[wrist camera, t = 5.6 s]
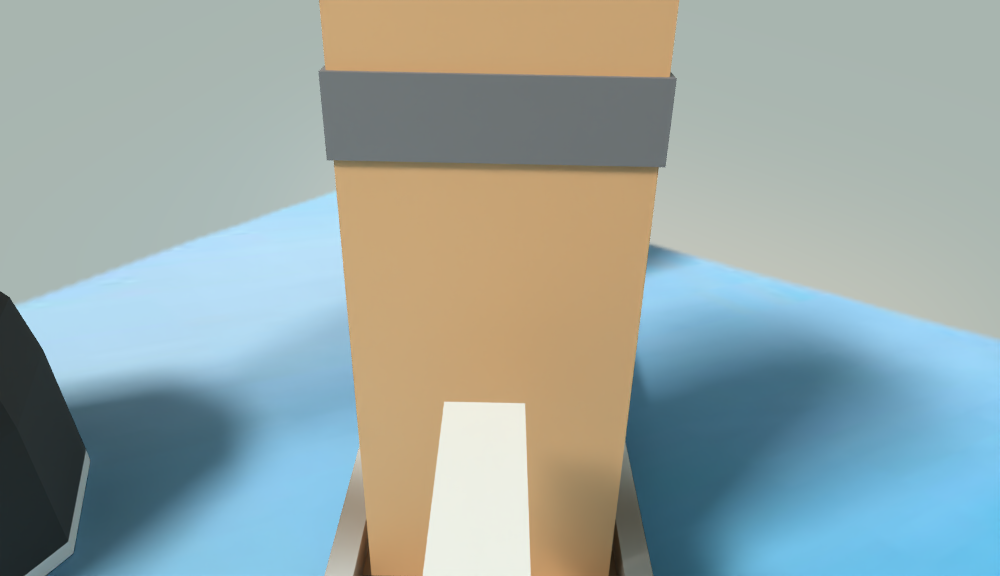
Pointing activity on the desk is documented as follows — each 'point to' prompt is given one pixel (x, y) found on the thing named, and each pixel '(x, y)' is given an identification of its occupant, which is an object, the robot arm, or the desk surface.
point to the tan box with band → (496, 243)
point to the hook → (35, 456)
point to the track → (352, 546)
